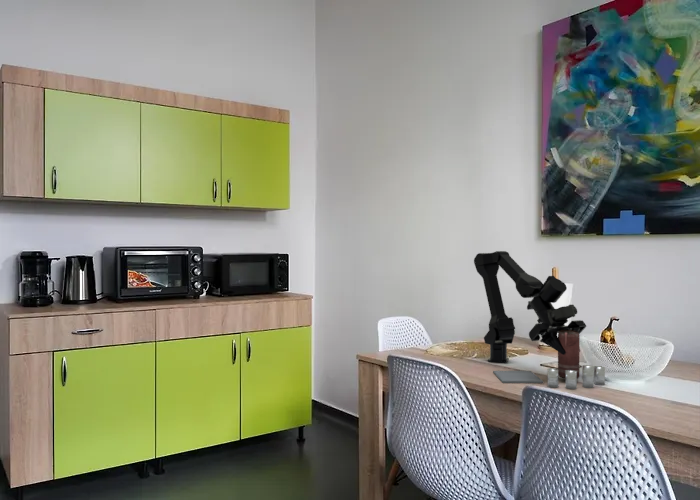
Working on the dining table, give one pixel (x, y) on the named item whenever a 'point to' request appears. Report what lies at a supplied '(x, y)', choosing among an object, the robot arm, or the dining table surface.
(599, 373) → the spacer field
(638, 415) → the dining table surface
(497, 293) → the robot arm
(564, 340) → the can
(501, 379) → the mat
